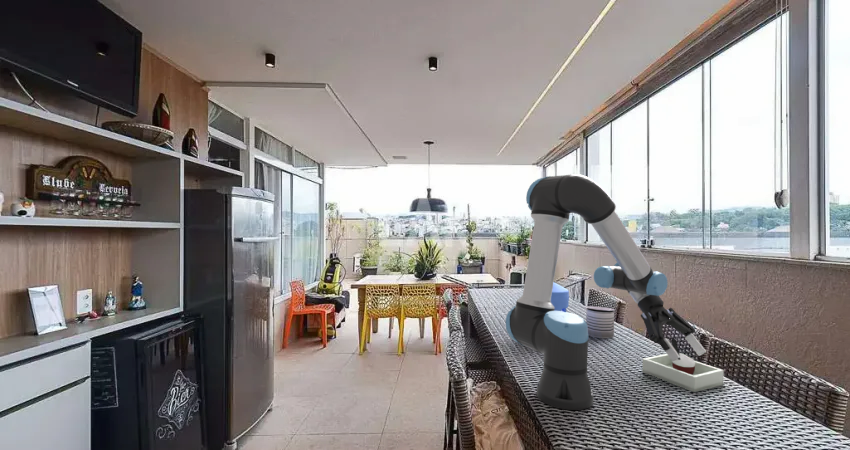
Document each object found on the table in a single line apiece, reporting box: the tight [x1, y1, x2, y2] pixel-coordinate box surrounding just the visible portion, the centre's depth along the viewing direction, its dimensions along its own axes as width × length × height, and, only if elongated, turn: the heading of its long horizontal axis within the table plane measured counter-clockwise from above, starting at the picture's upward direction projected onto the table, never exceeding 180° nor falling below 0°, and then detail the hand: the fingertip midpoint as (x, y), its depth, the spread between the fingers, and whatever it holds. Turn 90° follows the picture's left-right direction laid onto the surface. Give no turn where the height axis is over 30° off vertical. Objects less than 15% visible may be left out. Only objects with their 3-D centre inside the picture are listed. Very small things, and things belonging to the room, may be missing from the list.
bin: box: [641, 353, 725, 393], centre depth 131 cm, size 14×17×4 cm
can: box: [585, 305, 615, 339], centre depth 179 cm, size 11×11×12 cm
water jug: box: [551, 282, 570, 312], centre depth 172 cm, size 16×16×28 cm
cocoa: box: [670, 337, 695, 375], centre depth 131 cm, size 10×6×12 cm, turn 90°
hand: (689, 356), depth 129 cm, fingers open, 12 cm apart
